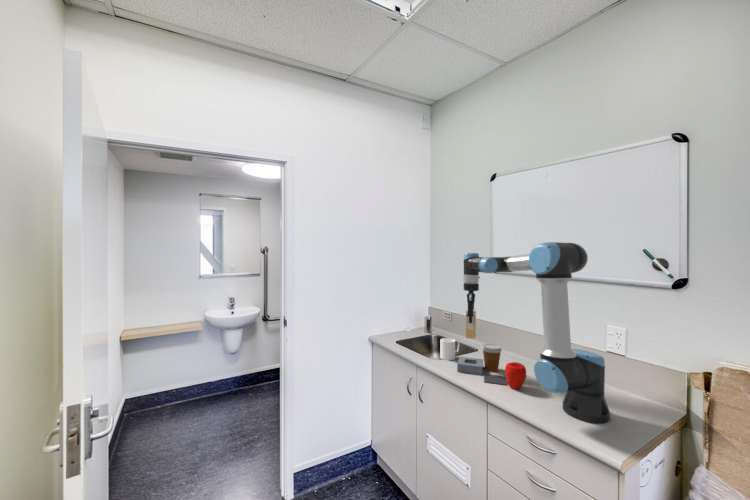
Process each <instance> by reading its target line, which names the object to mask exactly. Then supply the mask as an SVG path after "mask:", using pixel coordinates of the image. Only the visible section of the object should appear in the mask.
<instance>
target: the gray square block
mask: <svg viewBox="0 0 750 500" xmlns="http://www.w3.org/2000/svg"><path fill="white" fill-rule="evenodd" d="M458 358H459V359H458V361H457V362H456V363H457V364H456V366H457V368H456V370H457V372H458V373H465V374H472V375H477V376H478V375H480V376H482V375H483V372H484V371H483V370H484V358H476V357H468V356H467V357H466V356H459V357H458Z"/></svg>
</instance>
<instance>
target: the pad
mask: <svg viewBox="0 0 750 500" xmlns="http://www.w3.org/2000/svg"><path fill="white" fill-rule="evenodd" d="M483 383H485V384H493V385H501V386H506V387H507V386H508V382H507V379H506V375H499V374H498V375H496V374H490V373H484V377H483Z"/></svg>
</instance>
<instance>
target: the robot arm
mask: <svg viewBox="0 0 750 500" xmlns="http://www.w3.org/2000/svg"><path fill="white" fill-rule="evenodd" d="M588 260H589V259H588V253H587V251H586V250H585V249H584V247H582V246H581V245H580V244H578V243H574V242H553V241H551V242H550V241H548V242H541V243H538V244H536V245H534V247H533V249H531V251H530V252H529V253H527V254H519V255H513V256H511V255H510V256H492V257H491V256H480V255H479V253H478V252H466V253H464V255H463V282H464V283H463V291H467V292H468V293H466V301H467V309H468V315H466V314H465V317H466V316H468V329H472V330H473V309H475V301H476V299H475V298H476V293H474V292H477V291H478V292H479V290H480V287H479V286H480V284H479V283H480V280H479V279H480V278H481V277H480V276H479V275H480V273H482V274H483V273H484V274H494V273H512V272H513V273H514V272H527V271H531V272H533V273H535V279H536V280H537V281H538V282H539V283H540V290H541V291H540V292H541V306H542V307H541V308H542V325H543V326H542V327H543V345H544V347H543V348H542V349H541V350H540V351H539V352H540V353H539V354H540V355H539V356H540V358H539V359H537V361H535V362H536V363H534V365H533V366H534V367H533V372H534V377H535V379H536V381H537V382H538V383H539V384H540V386H541V387H542V388H543V389H544V390H546V391H547V392H549V393H551V394H552V393H553V394H564V393H565V395H564V397H563V399H562V410H563V411H564V412H565V413H566V414H567V415H569V416H571V417H573V418H575V419H578V420H580V421H584V422H587V423H593V424H605V423H608V422H610V420H611V411H610V408H609V406H608V403H607V400H606V396H605V382H606V379H605V378H606V377H605V376H606V375H605V374H606V373H605V372H606V366H605V365H606V363H605V358H604V357H603V356H601V355H600V354H598V353H594V352H591V351H588V350H582V349H579V348H577V349H576V348H572V342H571V341H572V340H571V323H570V308H569V307H570V306H569V293H568V292H569V291H568V283H569V282H570V281H571V280H572V279H573V278H572V275H573V273H574V274H575V273H578V272H579V271H582V270H583V269H584V268H585V267H586V265H587V263H588ZM469 313H470V314H469Z"/></svg>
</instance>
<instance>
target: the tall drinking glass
mask: <svg viewBox="0 0 750 500" xmlns="http://www.w3.org/2000/svg"><path fill="white" fill-rule="evenodd" d="M469 314H470V313H469ZM466 315H468V308H466V310H465V339H476V336H477V309H475V308H474V309H473V330H472V329H468V316H466Z"/></svg>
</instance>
